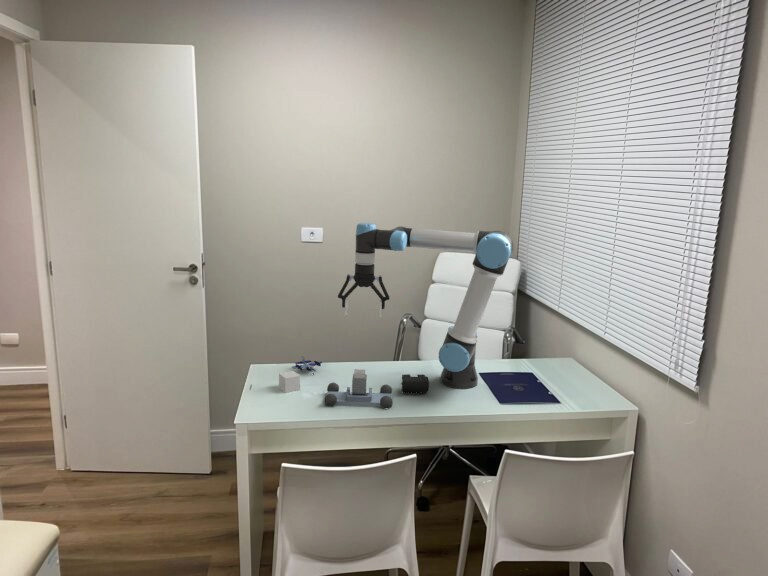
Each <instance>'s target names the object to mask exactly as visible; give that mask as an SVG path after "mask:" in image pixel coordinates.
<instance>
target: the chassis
mask: <svg viewBox="0 0 768 576" xmlns="http://www.w3.org/2000/svg"><path fill="white" fill-rule="evenodd" d="M379 389H380V390H379V392H373V387H368V392H366V396H357V395H352V391H351V386H347V387H346V391H340V386H339V385H338V383H336V382H330V383H329V384H328V385H327V389H326V392H327V393H326V395H325V397H324V400H323V402H324V405H326V407H334V406H346V405H349V406H350V407H351V405H354V406H353V407H374V406H381V407H380V408H382V409H384V408H388V409H390V408H392V407H393V406H392V405H393V399H392V398H393V397H392V393H393V389H392V387H391V385H389V384H383V385H382V386H381V387H380V388H379ZM356 405H357V406H356Z"/></svg>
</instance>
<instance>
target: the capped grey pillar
mask: <svg viewBox="0 0 768 576" xmlns="http://www.w3.org/2000/svg"><path fill="white" fill-rule="evenodd" d="M367 378H368V375H367V374H366V369H361V368H360V369H359V368H358V369H356V368H355V369H354V372H353V374H352V380H351V381H352V385H351V392H352V395H357V396H366V393H367Z"/></svg>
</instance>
